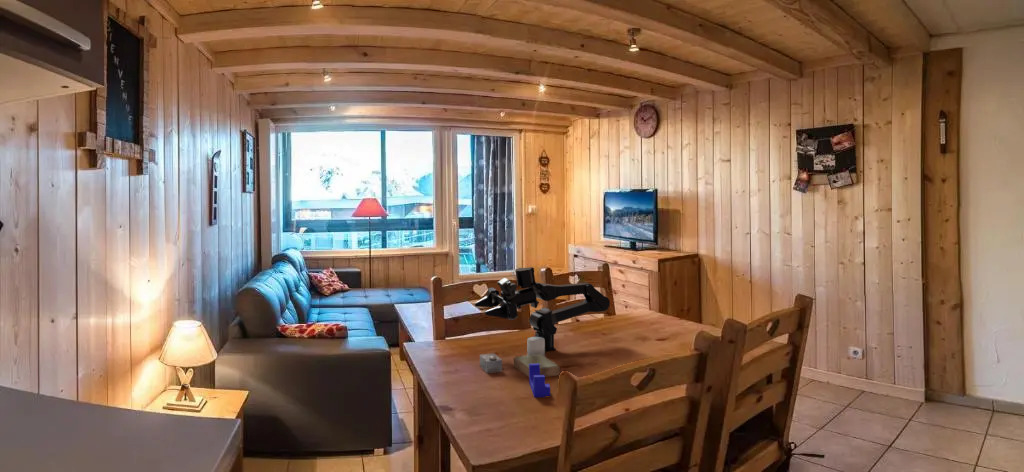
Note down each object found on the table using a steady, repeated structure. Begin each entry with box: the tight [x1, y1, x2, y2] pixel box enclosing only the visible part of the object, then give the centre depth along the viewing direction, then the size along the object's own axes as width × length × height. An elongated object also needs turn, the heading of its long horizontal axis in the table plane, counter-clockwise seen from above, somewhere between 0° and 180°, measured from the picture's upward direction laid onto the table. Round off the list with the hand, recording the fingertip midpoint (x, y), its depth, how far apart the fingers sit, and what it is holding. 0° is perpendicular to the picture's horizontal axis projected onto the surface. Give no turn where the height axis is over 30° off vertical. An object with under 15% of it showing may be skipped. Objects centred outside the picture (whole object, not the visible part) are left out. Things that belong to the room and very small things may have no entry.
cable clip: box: [528, 363, 551, 398], centre depth 155 cm, size 12×4×6 cm, turn 5°
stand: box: [513, 354, 561, 378], centre depth 173 cm, size 10×14×3 cm
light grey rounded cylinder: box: [526, 336, 546, 357], centre depth 184 cm, size 6×6×7 cm
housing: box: [479, 352, 503, 374], centre depth 174 cm, size 5×8×5 cm, turn 20°
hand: (479, 308), depth 185 cm, fingers open, 9 cm apart
